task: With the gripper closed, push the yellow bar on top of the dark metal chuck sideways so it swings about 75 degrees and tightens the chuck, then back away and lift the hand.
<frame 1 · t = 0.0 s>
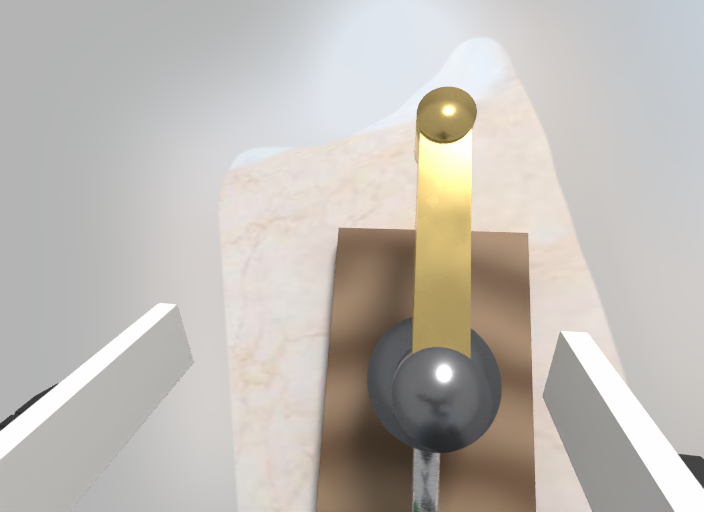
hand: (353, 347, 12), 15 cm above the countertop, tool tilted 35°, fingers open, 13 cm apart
stand: (423, 364, 26), on the countertop
chuck: (425, 367, 24), resting on stand
yellow bar: (439, 258, 17), point 10 cm above the countertop, hinge at 0.0°
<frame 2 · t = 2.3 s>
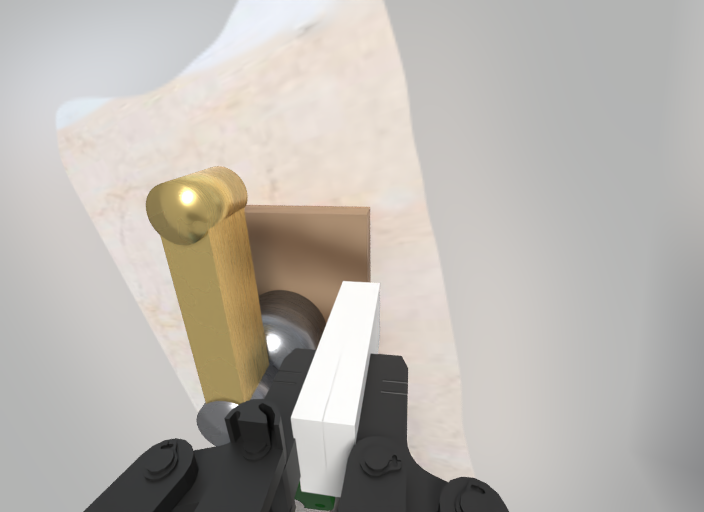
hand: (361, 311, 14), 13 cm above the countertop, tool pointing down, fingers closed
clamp: (293, 442, 39), on the countertop
stand: (293, 312, 31), on the countertop
chuck: (286, 325, 29), resting on stand
yellow bar: (226, 320, 19), point 10 cm above the countertop, hinge at 0.0°
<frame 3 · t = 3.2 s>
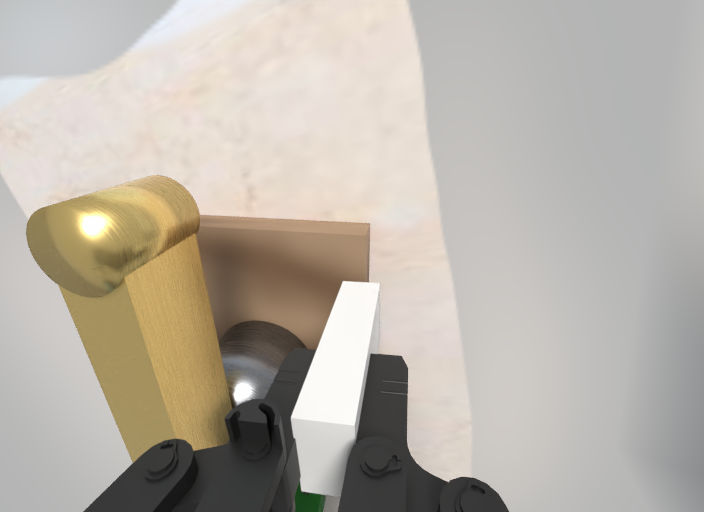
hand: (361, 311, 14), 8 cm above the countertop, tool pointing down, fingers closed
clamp: (275, 480, 34), on the countertop
stand: (276, 343, 26), on the countertop
chuck: (266, 361, 24), resting on stand
yellow bar: (172, 383, 14), point 10 cm above the countertop, hinge at 0.0°
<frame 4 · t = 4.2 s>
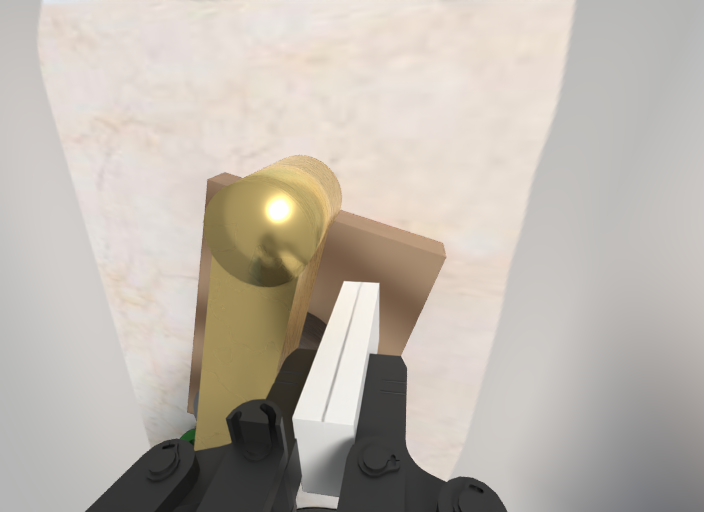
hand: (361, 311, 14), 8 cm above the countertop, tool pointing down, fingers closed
stand: (299, 331, 25), on the countertop
chuck: (291, 349, 23), resting on stand
yellow bar: (253, 373, 13), point 10 cm above the countertop, hinge at 0.6°, touching gripper
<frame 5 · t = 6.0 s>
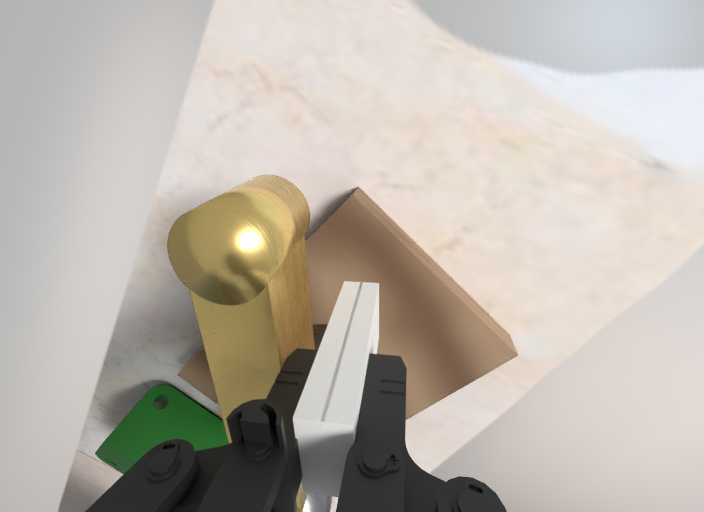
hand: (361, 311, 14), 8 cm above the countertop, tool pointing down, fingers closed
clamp: (198, 425, 32), on the countertop
stand: (333, 347, 25), on the countertop
yellow bar: (275, 393, 14), point 10 cm above the countertop, hinge at 44.6°, touching gripper
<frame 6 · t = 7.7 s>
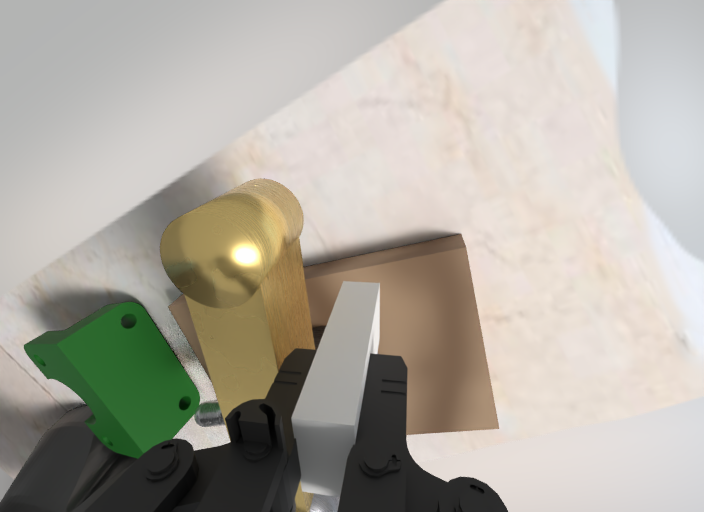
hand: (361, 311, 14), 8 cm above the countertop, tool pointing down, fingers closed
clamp: (144, 353, 29), on the countertop
stand: (338, 348, 25), on the countertop
chuck: (333, 367, 24), resting on stand
yellow bar: (277, 395, 14), point 10 cm above the countertop, hinge at 77.2°
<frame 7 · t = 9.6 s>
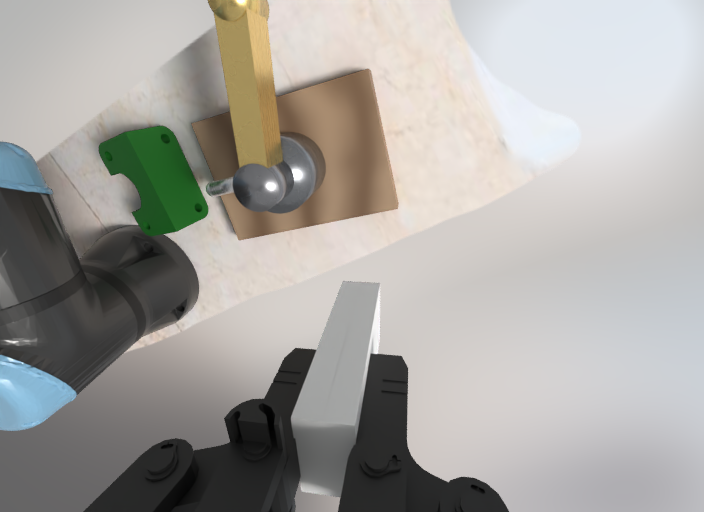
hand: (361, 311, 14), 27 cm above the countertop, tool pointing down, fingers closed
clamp: (171, 177, 43), on the countertop
stand: (300, 163, 39), on the countertop
chuck: (294, 166, 37), resting on stand
yellow bar: (254, 106, 27), point 10 cm above the countertop, hinge at 77.3°
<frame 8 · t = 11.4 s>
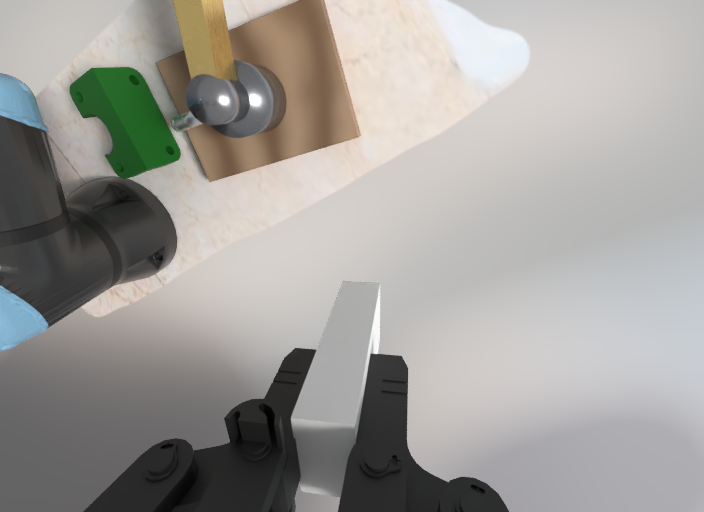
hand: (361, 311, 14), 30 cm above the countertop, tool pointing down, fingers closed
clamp: (144, 124, 44), on the countertop
stand: (263, 99, 40), on the countertop
chuck: (256, 99, 39), resting on stand
yellow bar: (202, 19, 29), point 10 cm above the countertop, hinge at 77.3°
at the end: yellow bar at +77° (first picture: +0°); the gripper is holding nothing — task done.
